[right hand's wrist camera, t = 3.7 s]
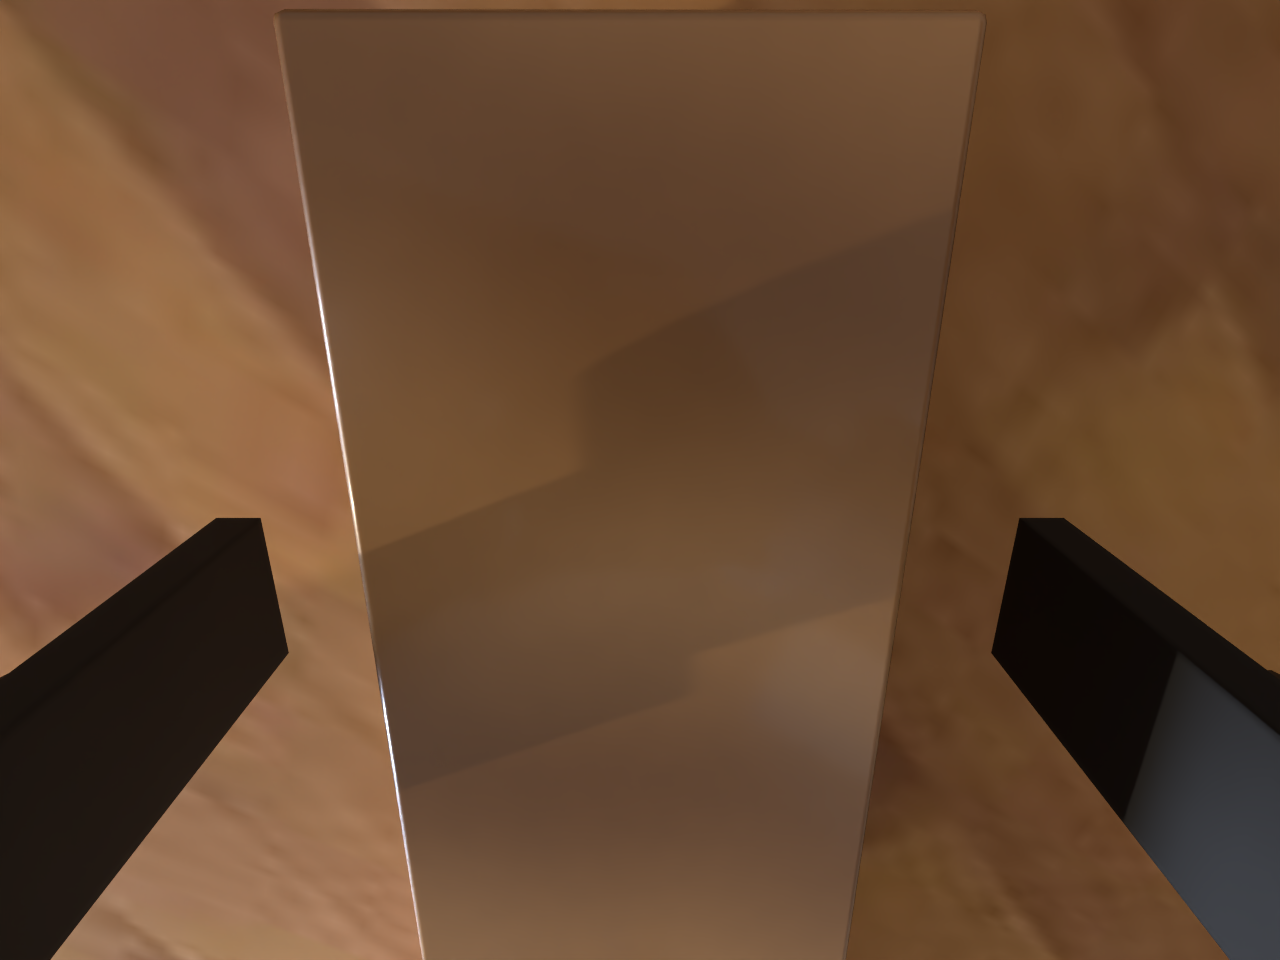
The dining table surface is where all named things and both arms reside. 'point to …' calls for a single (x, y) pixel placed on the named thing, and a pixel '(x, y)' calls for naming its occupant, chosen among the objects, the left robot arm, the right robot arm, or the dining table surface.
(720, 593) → the post
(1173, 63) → the dining table surface
